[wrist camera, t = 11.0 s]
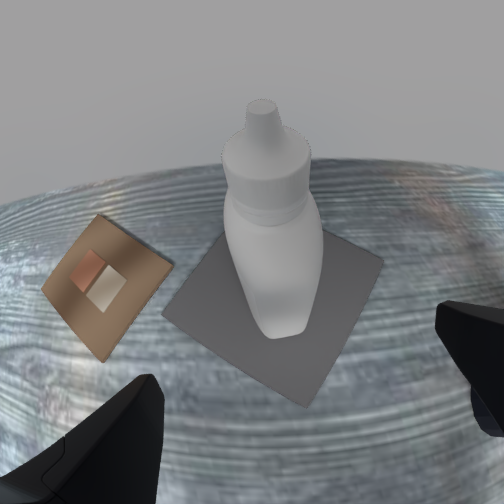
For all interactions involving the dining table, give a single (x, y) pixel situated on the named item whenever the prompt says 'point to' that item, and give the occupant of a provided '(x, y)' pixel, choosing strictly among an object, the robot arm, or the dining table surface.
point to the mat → (248, 332)
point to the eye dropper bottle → (272, 220)
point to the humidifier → (484, 416)
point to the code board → (104, 284)
